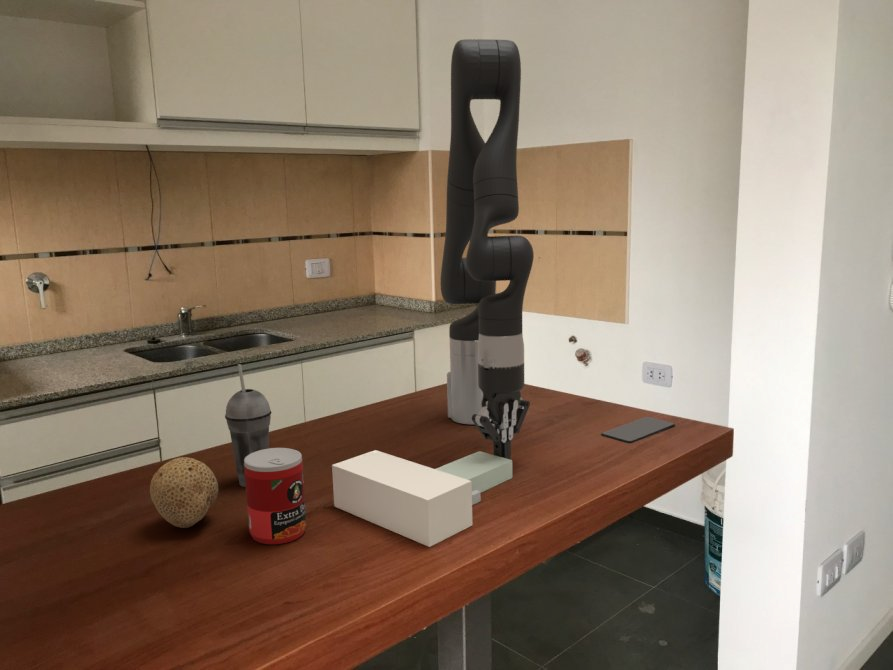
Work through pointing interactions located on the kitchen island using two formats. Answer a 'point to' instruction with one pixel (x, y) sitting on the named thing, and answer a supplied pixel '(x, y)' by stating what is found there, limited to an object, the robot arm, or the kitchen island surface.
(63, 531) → the kitchen island surface
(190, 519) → the natural sponge
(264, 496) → the canned food
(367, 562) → the kitchen island surface
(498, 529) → the kitchen island surface
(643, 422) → the smartphone
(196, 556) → the kitchen island surface
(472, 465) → the sage green bar
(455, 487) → the cream rectangular prism
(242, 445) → the beverage cup
